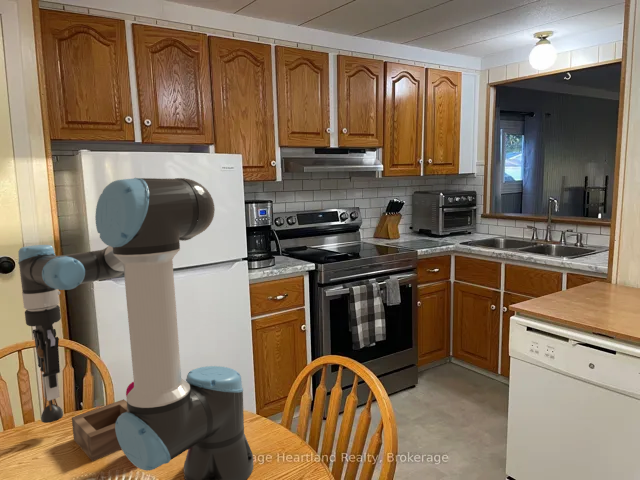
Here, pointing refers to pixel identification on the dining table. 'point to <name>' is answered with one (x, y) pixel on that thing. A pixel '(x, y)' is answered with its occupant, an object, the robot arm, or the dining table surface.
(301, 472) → the dining table surface
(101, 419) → the box
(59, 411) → the wooden tabletop sculpture
